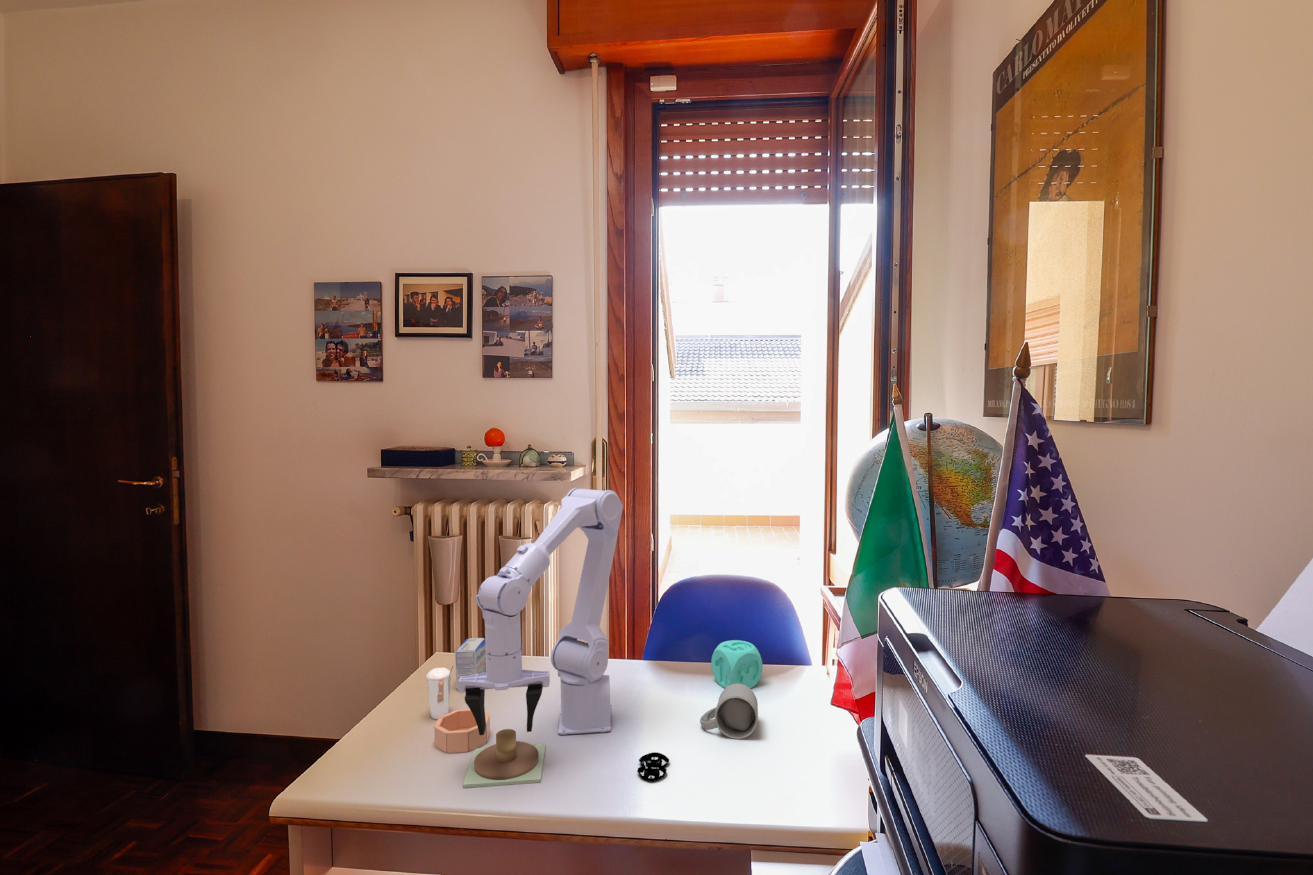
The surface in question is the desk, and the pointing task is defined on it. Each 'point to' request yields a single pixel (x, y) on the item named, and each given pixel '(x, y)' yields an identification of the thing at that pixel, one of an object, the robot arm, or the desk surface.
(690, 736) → the desk surface
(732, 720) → the ceramic mug
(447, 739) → the terracotta bowl
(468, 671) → the medicine box
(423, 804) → the desk surface
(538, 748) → the green mat
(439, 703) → the milkshake
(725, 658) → the decorative dice
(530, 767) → the walnut lid
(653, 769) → the black flat openwork piece
